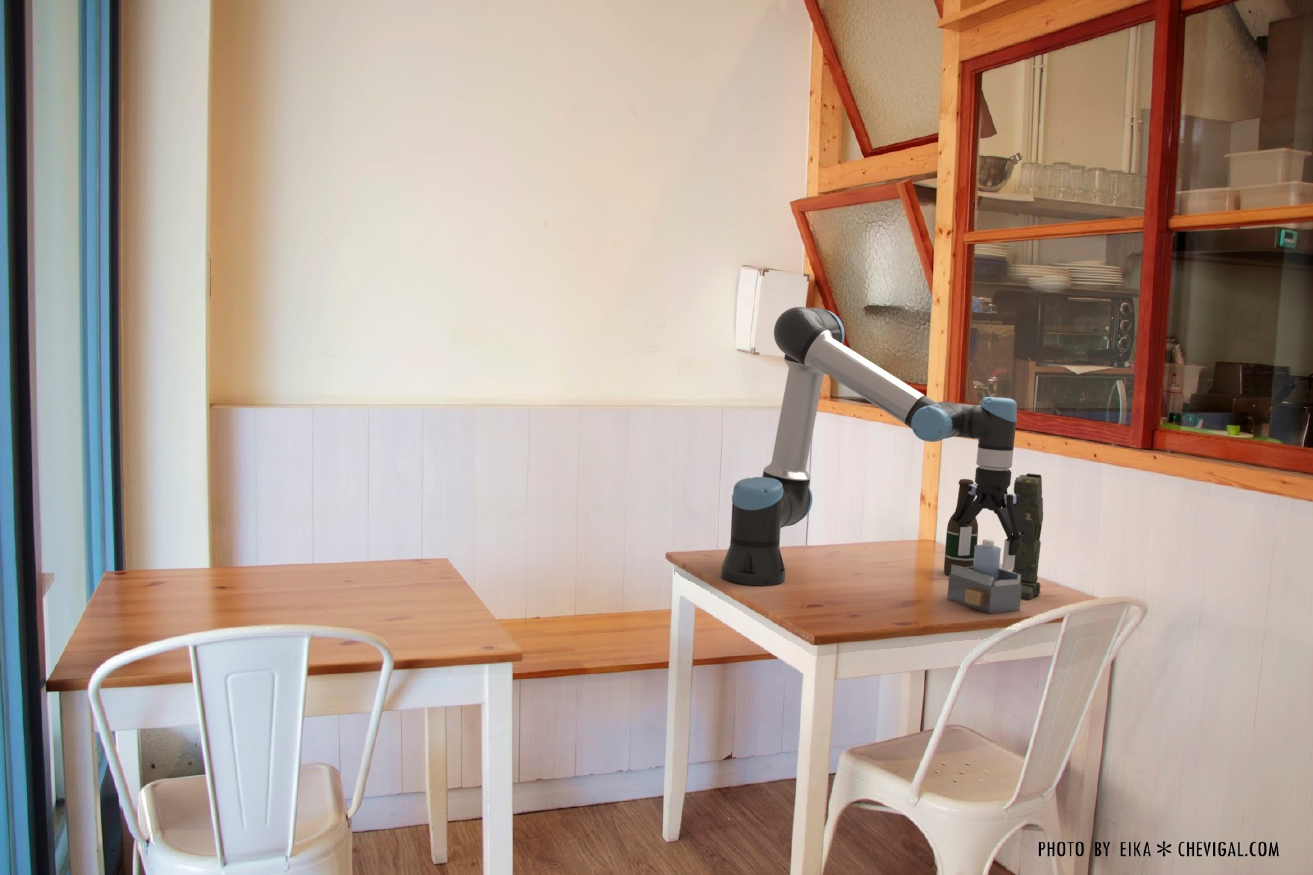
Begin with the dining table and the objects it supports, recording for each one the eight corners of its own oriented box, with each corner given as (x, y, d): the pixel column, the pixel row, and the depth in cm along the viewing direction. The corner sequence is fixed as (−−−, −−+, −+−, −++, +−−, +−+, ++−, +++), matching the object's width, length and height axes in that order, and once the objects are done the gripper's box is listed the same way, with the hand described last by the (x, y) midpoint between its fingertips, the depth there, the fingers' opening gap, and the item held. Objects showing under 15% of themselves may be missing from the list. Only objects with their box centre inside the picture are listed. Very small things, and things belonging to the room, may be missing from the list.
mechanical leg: (1015, 580, 257) (1019, 464, 247) (1046, 585, 253) (1051, 467, 244) (1002, 604, 246) (1005, 484, 236) (1034, 610, 242) (1038, 488, 233)
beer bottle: (953, 569, 269) (960, 476, 267) (981, 575, 264) (988, 480, 261) (937, 573, 264) (944, 478, 261) (965, 580, 258) (972, 483, 256)
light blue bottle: (967, 576, 236) (970, 538, 235) (985, 574, 239) (988, 537, 238) (984, 582, 231) (987, 544, 231) (1003, 580, 234) (1006, 542, 233)
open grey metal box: (934, 597, 240) (937, 562, 240) (971, 593, 245) (973, 559, 244) (981, 614, 227) (984, 578, 226) (1019, 610, 232) (1022, 574, 231)
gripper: (1050, 476, 223) (1040, 574, 226) (966, 459, 245) (958, 548, 248) (1024, 477, 220) (1014, 576, 222) (941, 459, 242) (934, 550, 244)
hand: (985, 562), depth 235 cm, fingers open, 13 cm apart
